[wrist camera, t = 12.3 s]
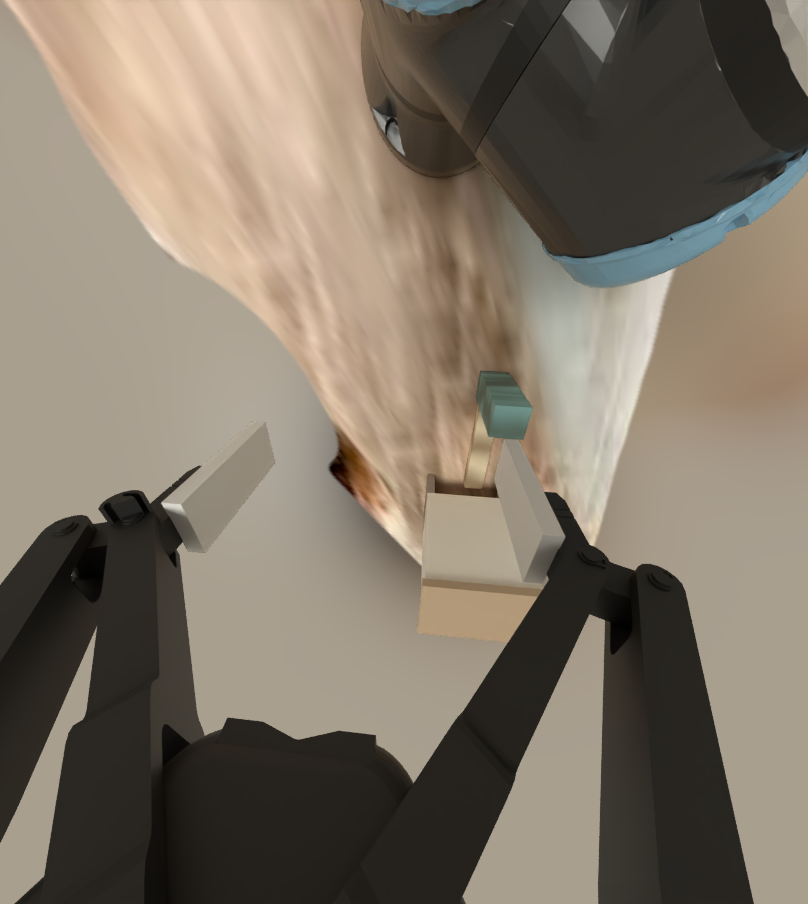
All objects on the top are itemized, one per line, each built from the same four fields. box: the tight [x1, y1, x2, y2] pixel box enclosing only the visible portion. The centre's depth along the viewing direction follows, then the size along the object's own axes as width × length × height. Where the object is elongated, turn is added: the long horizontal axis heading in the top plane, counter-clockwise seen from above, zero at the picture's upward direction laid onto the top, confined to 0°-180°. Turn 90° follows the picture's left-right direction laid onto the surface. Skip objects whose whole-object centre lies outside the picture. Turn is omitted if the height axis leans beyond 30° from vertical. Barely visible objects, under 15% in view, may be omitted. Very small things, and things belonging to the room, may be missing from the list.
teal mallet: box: [464, 371, 533, 489], centre depth 43 cm, size 20×4×12 cm, turn 178°
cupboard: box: [417, 474, 544, 642], centre depth 46 cm, size 11×15×22 cm
